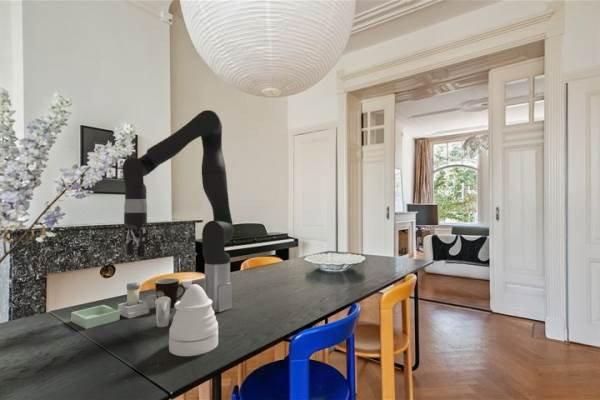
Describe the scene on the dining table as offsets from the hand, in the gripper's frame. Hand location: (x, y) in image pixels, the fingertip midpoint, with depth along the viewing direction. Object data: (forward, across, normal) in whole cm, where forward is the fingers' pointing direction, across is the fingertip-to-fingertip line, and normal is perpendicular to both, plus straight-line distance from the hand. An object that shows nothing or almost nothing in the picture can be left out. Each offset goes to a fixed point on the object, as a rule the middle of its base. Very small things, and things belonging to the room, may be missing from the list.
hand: (135, 255), depth 116 cm
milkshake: (+21, -22, +1) cm, 30 cm away
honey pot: (+21, -43, +3) cm, 47 cm away
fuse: (+19, -2, +1) cm, 19 cm away
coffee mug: (+21, -6, -10) cm, 24 cm away
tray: (+20, +1, +12) cm, 24 cm away
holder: (+20, -2, +1) cm, 21 cm away
